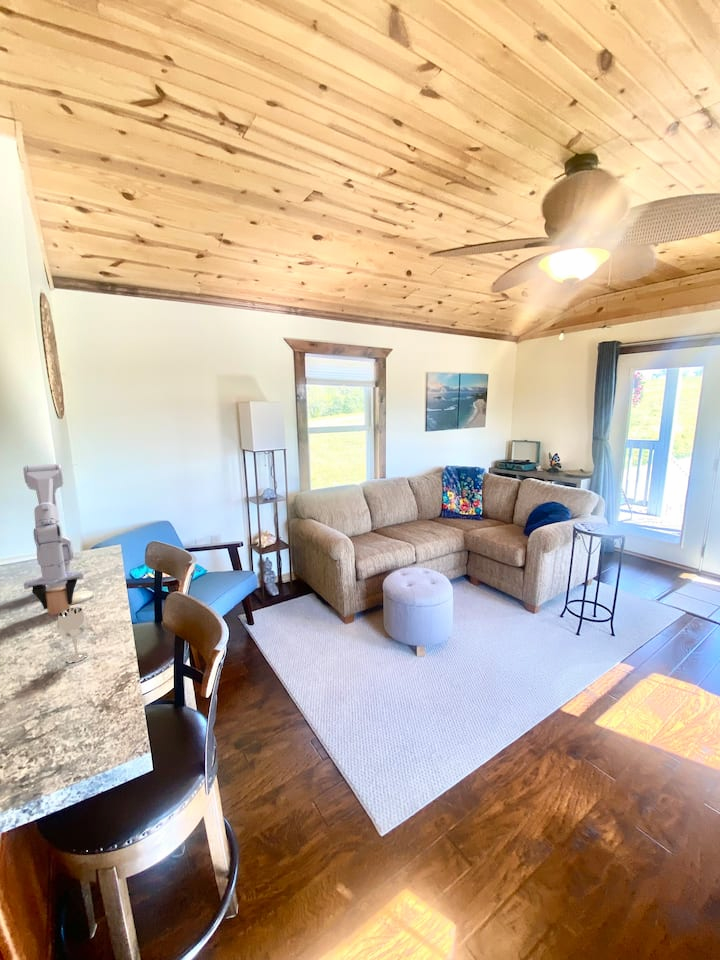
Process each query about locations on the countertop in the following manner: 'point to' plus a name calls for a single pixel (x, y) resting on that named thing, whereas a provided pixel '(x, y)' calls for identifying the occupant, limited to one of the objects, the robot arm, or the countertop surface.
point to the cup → (56, 600)
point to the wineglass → (72, 628)
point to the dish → (81, 596)
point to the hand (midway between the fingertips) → (58, 605)
